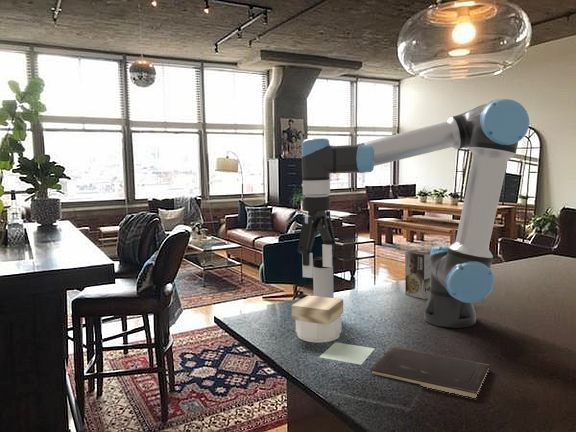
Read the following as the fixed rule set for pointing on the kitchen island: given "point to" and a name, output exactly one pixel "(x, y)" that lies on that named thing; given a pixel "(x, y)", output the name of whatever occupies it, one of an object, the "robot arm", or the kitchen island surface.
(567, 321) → the kitchen island surface
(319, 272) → the travel mug
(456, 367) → the hardcover book
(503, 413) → the kitchen island surface
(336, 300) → the tan box
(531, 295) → the kitchen island surface
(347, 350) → the mat
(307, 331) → the bowl
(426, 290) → the coffee box
